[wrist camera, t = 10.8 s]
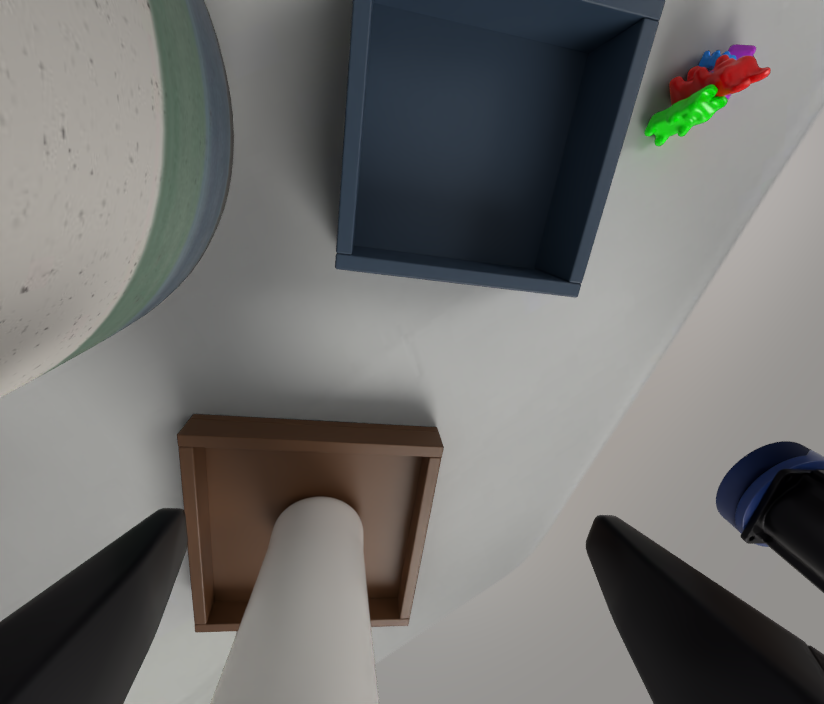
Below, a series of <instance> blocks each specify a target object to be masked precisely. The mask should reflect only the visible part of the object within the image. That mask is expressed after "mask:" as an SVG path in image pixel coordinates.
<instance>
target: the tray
mask: <svg viewBox="0 0 824 704" xmlns="http://www.w3.org/2000/svg"><path fill="white" fill-rule="evenodd" d="M177 440H178V446H179V458H180V469H181V480H182V491H183V501H184V512H185V516H186V526H187V536H188V544H187V545H188V556H189V567H190V578H191V589H192V600H193V610H194V621H195V632H222V631H238V628H239V625H240V623H241V620H242V617H243V615H244V612H245V609H246V607H247V604H248V601H249V599H250V596H251V593H252V590H253V588H254V585H255V582H256V579H257V577H258V574H259V571H260V569H261V566H262V563H263V560H264V557H265V555H266V552H267V548H268V545H269V541H270V537H271V534H272V530H273V527H274V524H275V522H276V520H277V519H278V517H279V516H280V514H281V513H282V512H283V511H284V510H285V509H286V508H287V507H289V506H290V505H292V504H293V503H295V502H297V501H299V500H302V499H305V498H309V497H317V496H324V497H331V498H335V499H338V500H341V501H343V502H345V503H347V504H348V505H350V506H351V507H352V508H353V509H354V510H355V511H356V512H357V514H358V515H359V517H360V519H361V522H362V525H363V534H364V562H365V572H366V582H367V592H368V602H369V611H370V621H371V627H382V626H408V624H409V619H410V613H411V608H412V603H413V598H414V593H415V588H416V583H417V578H418V573H419V568H420V563H421V558H422V553H423V548H424V543H425V538H426V533H427V527H428V522H429V517H430V512H431V507H432V502H433V497H434V492H435V487H436V482H437V477H438V472H439V467H440V462H441V457H442V453H443V448H444V447H443V444H442V441H441V438H440V435H439V432H438V429H437V427H423V426H404V425H386V424H368V423H350V422H331V421H313V420H295V419H277V418H258V417H240V416H222V415H204V414H193V415H192V417H191V418H190V419H189V420H188V422H187V423H186V424H185V425H184V427H183V428H182V429H181V430H180V432H179V433H178V434H177Z"/></svg>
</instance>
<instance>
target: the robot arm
mask: <svg viewBox="0 0 824 704" xmlns="http://www.w3.org/2000/svg"><path fill="white" fill-rule="evenodd" d="M741 538H742V539H743V540H744V541H745V542H747V543H756V544H767V545H768V546H769V547H770V548H771V549H773V550H774V551H775V552H776V553H777V554H778V555H780V556H781V557H782V558H783V559H784V560H786V561H787V562H788V563H789V564H790V565H791V566H793V567H794V568H795V569H796V570H797V571H798V572H800V573H801V574H802V575H803V576H804V577H805V578H807V579H808V580H809V581H810V582H811V583H813V584H814V585H815V586H816V587H817V588H818V589H820V590H821V591H822V592H823V593H824V470H806V469H782V470H780V471H778V472H777V474H776V475H775V477H774V479H773V480H772V482H771V484H770V486H769V487H768V489H767V491H766V492H765V494H764V496H763V498H762V499H761V501H760V503H759V505H758V506H757V508H756V510H755V511H754V513H753V515H752V517H751V518H750V520H749V522H748V524H747V525H746V527H745V529H744V530H743V532H742V534H741ZM187 544H188V536H187V526H186V516H185V512H184V510H183V509H180V508H163V509H160V510H158V511H156V512H155V513H153V514H152V515H150V516H149V517H147V518H146V519H145V520H143V521H142V522H140V523H139V524H138V525H136V526H135V527H133V528H132V529H131V530H129V531H128V532H126V533H125V534H124V535H122V536H121V537H119V538H118V539H116V540H115V541H114V542H112V543H111V544H109V545H108V546H107V547H105V548H104V549H102V550H101V551H100V552H98V553H97V554H95V555H94V556H93V557H91V558H90V559H88V560H87V561H85V562H84V563H83V564H81V565H80V566H78V567H77V568H76V569H74V570H73V571H71V572H70V573H69V574H67V575H66V576H64V577H63V578H61V579H60V580H59V581H57V582H56V583H54V584H53V585H52V586H50V587H49V588H47V589H46V590H45V591H43V592H42V593H40V594H39V595H38V596H36V597H35V598H33V599H32V600H30V601H29V602H28V603H26V604H25V605H23V606H22V607H21V608H19V609H18V610H16V611H15V612H14V613H12V614H11V615H9V616H8V617H7V618H5V619H4V620H2V621H1V622H0V704H123V703H124V701H125V698H126V696H127V694H128V692H129V690H130V688H131V686H132V684H133V682H134V680H135V678H136V675H137V673H138V671H139V669H140V667H141V665H142V663H143V661H144V659H145V657H146V654H147V652H148V650H149V648H150V646H151V643H152V641H153V639H154V637H155V634H156V632H157V629H158V626H159V624H160V621H161V618H162V616H163V613H164V610H165V607H166V605H167V602H168V599H169V597H170V594H171V591H172V588H173V586H174V583H175V580H176V577H177V575H178V572H179V569H180V566H181V564H182V561H183V558H184V555H185V552H186V549H187ZM586 550H587V554H588V556H589V559H590V561H591V564H592V567H593V569H594V572H595V574H596V577H597V580H598V582H599V585H600V587H601V590H602V592H603V595H604V598H605V600H606V603H607V605H608V608H609V611H610V613H611V615H612V617H613V620H614V623H615V625H616V627H617V629H618V631H619V633H620V635H621V638H622V639H623V642H624V643H625V646H626V648H627V650H628V652H629V654H630V656H631V658H632V660H633V662H634V664H635V666H636V668H637V670H638V673H639V674H640V677H641V679H642V680H643V683H644V685H645V687H646V689H647V691H648V693H649V695H650V697H651V699H652V701H653V703H654V704H824V654H822V653H821V652H819V651H818V650H816V649H815V648H813V647H812V646H807V644H806V643H805V642H804V641H803V640H801V639H799V638H798V637H797V636H795V635H794V634H792V633H791V632H789V631H787V630H786V629H784V628H783V627H782V626H780V625H779V624H777V623H775V622H774V621H773V620H771V619H770V618H768V617H766V616H765V615H764V614H762V613H761V612H759V611H758V610H756V609H755V608H753V607H751V606H750V605H748V604H747V603H746V602H744V601H742V600H741V599H740V598H738V597H737V596H735V595H734V594H732V593H731V592H729V591H727V590H726V589H724V588H723V587H721V586H720V585H718V584H717V583H715V582H714V581H712V580H711V579H709V578H708V577H706V576H705V575H703V574H702V573H700V572H699V571H697V570H696V569H694V568H693V567H691V566H690V565H688V564H687V563H685V562H684V561H682V560H681V559H679V558H678V557H676V556H675V555H673V554H672V553H670V552H669V551H667V550H666V549H664V548H663V547H661V546H660V545H658V544H657V543H655V542H654V541H652V540H651V539H649V538H648V537H646V536H645V535H643V534H642V533H640V532H639V531H637V530H636V529H634V528H633V527H631V526H630V525H628V524H627V523H625V522H624V521H622V520H621V519H619V518H618V517H616V516H612V515H599V516H597V517H596V518H595V519H594V521H593V524H592V527H591V529H590V532H589V534H588V537H587V540H586Z"/></svg>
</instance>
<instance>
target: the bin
mask: <svg viewBox="0 0 824 704" xmlns="http://www.w3.org/2000/svg"><path fill="white" fill-rule="evenodd" d="M664 4H665V0H353V6H352V21H351V36H350V51H349V66H348V81H347V96H346V111H345V126H344V141H343V156H342V171H341V186H340V201H339V216H338V231H337V246H336V252H337V254H336V261H335V268H336V269H340V270H349V271H357V272H365V273H374V274H382V275H391V276H399V277H408V278H416V279H425V280H433V281H441V282H450V283H458V284H467V285H475V286H484V287H492V288H501V289H509V290H517V291H526V292H534V293H543V294H551V295H560V296H568V297H578V294H579V290H580V287H581V284H580V283H582V280H583V277H584V273H585V270H586V267H587V263H588V260H589V257H590V253H591V250H592V246H593V243H594V240H595V236H596V233H597V230H598V226H599V223H600V219H601V216H602V213H603V209H604V206H605V203H606V199H607V196H608V193H609V189H610V186H611V182H612V179H613V176H614V172H615V169H616V166H617V162H618V159H619V155H620V152H621V149H622V145H623V142H624V139H625V135H626V132H627V128H628V125H629V122H630V118H631V115H632V112H633V108H634V105H635V101H636V98H637V95H638V91H639V88H640V85H641V81H642V78H643V74H644V71H645V68H646V64H647V61H648V58H649V54H650V51H651V47H652V44H653V41H654V37H655V34H656V31H657V27H658V24H659V22H658V21H659V19H660V17H661V14H662V10H663V7H664Z"/></svg>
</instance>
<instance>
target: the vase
mask: <svg viewBox="0 0 824 704" xmlns="http://www.w3.org/2000/svg"><path fill="white" fill-rule="evenodd" d="M233 147H234V132H233V115H232V106H231V98H230V92H229V86H228V81H227V76H226V71H225V66H224V62H223V58H222V54H221V50H220V46H219V43H218V39H217V36H216V33H215V30H214V27H213V24H212V21H211V18H210V15H209V12H208V9H207V7H206V4H205V2H204V0H0V398H1V397H3V396H5V395H6V394H8V393H10V392H12V391H14V390H16V389H17V388H19V387H21V386H23V385H25V384H27V383H28V382H30V381H32V380H34V379H36V378H37V377H39V376H41V375H43V374H45V373H47V372H48V371H50V370H52V369H54V368H56V367H57V366H59V365H61V364H63V363H65V362H66V361H68V360H70V359H72V358H74V357H75V356H77V355H79V354H81V353H83V352H84V351H86V350H88V349H90V348H91V347H93V346H95V345H97V344H98V343H100V342H102V341H104V340H105V339H107V338H109V337H111V336H112V335H114V334H116V333H117V332H119V331H120V330H122V329H123V328H125V327H127V326H128V325H130V324H131V323H133V322H135V321H136V320H138V319H139V318H141V317H142V316H144V315H146V314H147V313H148V312H150V311H151V310H152V309H153V308H155V307H156V306H157V305H159V304H160V303H161V302H162V301H163V300H164V299H165V298H166V297H168V296H169V295H170V294H171V293H172V292H173V291H174V290H175V289H176V288H177V287H178V286H179V285H180V284H181V283H182V282H183V281H184V280H185V279H186V277H187V276H188V275H189V274H190V273H191V272H192V270H193V269H194V267H195V266H196V265H197V263H198V262H199V261H200V259H201V257H202V256H203V254H204V252H205V251H206V249H207V247H208V245H209V243H210V241H211V239H212V237H213V235H214V233H215V231H216V229H217V227H218V224H219V221H220V219H221V216H222V213H223V210H224V207H225V203H226V199H227V196H228V191H229V186H230V180H231V174H232V165H233Z"/></svg>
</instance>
